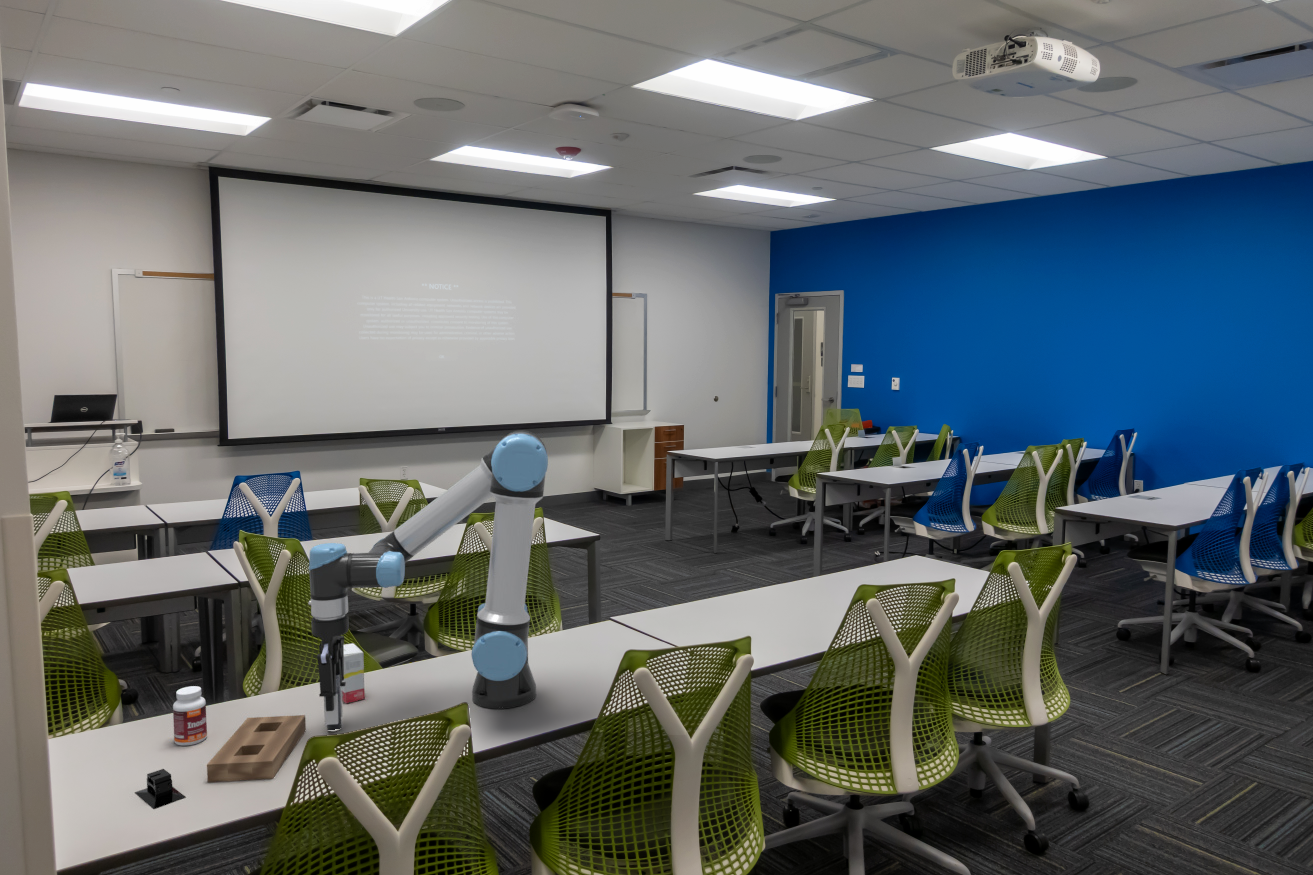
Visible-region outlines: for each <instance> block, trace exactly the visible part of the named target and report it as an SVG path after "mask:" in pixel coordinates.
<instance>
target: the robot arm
mask: <svg viewBox="0 0 1313 875" xmlns="http://www.w3.org/2000/svg"><path fill="white" fill-rule="evenodd" d="M548 460H549V458H548V452H547V449H546V446H545V443H544V442H543V441H542V438H540V437H539V436H538V435H536V434H535V433H533V432H531V431H529V430H514V431H511V432H510V433H508V434H506V435H505V436H503V437H502V438H501V439H500V441H499V442H498V443H497V445H495V447H493V449H491V450H490V451H489V452H488V453H487V454H485V455H484V456H483V457H481V460H480V464H479V465H478V466H477V467H476V468H474V469H473V470H471V471H470V472H469V473H467V475H465V476H464V477H462V478H461V479H460V480H458V481H457V482H456V483H455V484H453V485H452V486H450V488H448V489H447V490H446V491H444V492H443V493H441V494H440V495H438V496H437V497H436V498H435V499H434V500H432V501H431V502H430V503H428V504H427V505H426V506H424V507H422V509H420V510H419V511H418V512H416V513H415V514H414V515H412V516H411V517H410V518H409V519H407V520H405V521H404V523H402V524H401V525H399V526H398V527H397V528H396V529H394V531H392V532H390V533H389V534H387V535H386V536H385V537H384V538H381V539H380V540H378V541H377V542H375V544H373V546H372V548H371V549H369V551H368V552H360V553H359V552H356V553H355V552H353V553H351V552H348V551H347V547H346V546H345V544H343V543H338V542H337V543H336V542H328V543H321V544H317V545H315V546H312V547H311V548H310V550H309V564H308V565H309V566H308V571H309V572H308V574H309V589H310V600H309V601H308V603H307V604H308V605H309V606H311V608H310V609H311V612H310V613H311V616H312V618H311V623H310V624H311V634H312V636H313V637H316V638H320V639H321V643H320V644H319V647H318V649H319V652H320V653H317V655H316V659H317V660H316V661H317V664H318V675H319V678H318V679H319V689H320V690H319V692H320V693H319V694H318V695H319V697H321V698H323V709H324V710H323V713H324V726H325V725H326V726H327V725H330V724H338V723H339V720H338V694H336V674H339V675H340V686H345V684H346V682H342V681H343V680H344V645H345V636H344V635H345V634H346V633H348V632H349V629H350V628H349V627H350V626H349V624H350V623H349V615H348V614H347V613H349V598H348V596H349V595H348V589H363V588H365V589H366V588H367V589H369V588H385V589H387V588H393V587H399V586H401V585H402V584H403V582H404V580H405V573H406V572H405V570H406V563H407V562H409V561H410V560H411V559H412V558H413V557H415V556H416V555H417V554H418V553H420V552H421V551H422V550H424V549H425V548H427V546H429V545H430V544H431V543H433V542H435V541H436V540H437V539H439V538H440V537H441V536H442V535H443V534H445V533H446V532H448V530H450V529H452V528H454V526H456V524H458V523H459V522H461V521H462V520H463V519H465V518H466V517H467V516H469V515H470V514H471V513H473V512H474V511H475V510H477V509H478V508H480V506H482V505H483V504H484V503H486V502H487V501H489V500H490V499H491V498H494V500H495V506H494V507H495V508H494V517H493V525H492V526H493V527H492V535H491V547H490V557H489V564H488V566H489V567H488V576H487V582H486V585H487V586H486V595H485V602H484V603H481V604H480V605H479V606H478V609H477V614H476V624H475V631H474V632H475V633H474V641H473V642H474V643H473V645H472V646H473V647H472V648H471V661H472V664H473V666H474V668H475V670H476V672H477V673H476V676H475V679H474V683H473V685H472V690H471V696H472V697H471V698H472V702H473V703H474V704H476V705H477V706H479V707H482V708H488V709H495V710H496V709H511V708H516V707H520V706H523V705H526V704H528V703H530V702H532V701H533V700H535V698H536V696H537V684H536V681H535V679H534V676H533V673H532V670H531V668H530V664H529V631H530V620H531V616H530V614H529V612H528V606H527V604H526V595H527V586H528V585H527V584H528V574H529V568H530V567H529V565H530V556H531V546H532V538H533V529H534V520H535V513H536V512H535V509H536V504H537V503H538V502H539V501H541V500H543V498H544V492H545V491H544V490H545V482H546V472H547V471H548V466H549V461H548ZM340 695H341V718H343V700H342V687H341V688H340Z"/></svg>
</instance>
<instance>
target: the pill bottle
mask: <svg viewBox="0 0 1313 875" xmlns="http://www.w3.org/2000/svg"><path fill="white" fill-rule="evenodd" d="M175 697H176V701H175V702H174V703H173V705H172V714H173V715H172V717H173V739H174V743H175V745H177V746H182V747H183V746H193V745H196V744H199V743H202V742H203V741H205V739H206V738H207V736H208V727H207V724H208V723H207V702H206V699H205V698H204V697H203V696H202V688H201V687H200V686H198V685H197V686H196V685H195V686H194V685H193V686H192V685H191V686H185V687H182V688H180V689H178V690H177V691H176V696H175Z"/></svg>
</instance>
